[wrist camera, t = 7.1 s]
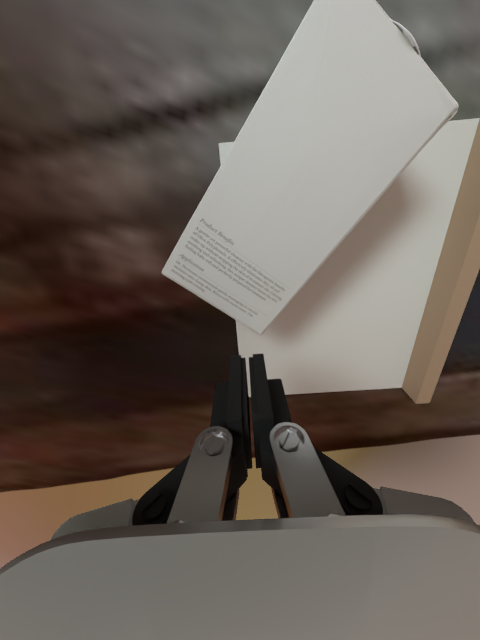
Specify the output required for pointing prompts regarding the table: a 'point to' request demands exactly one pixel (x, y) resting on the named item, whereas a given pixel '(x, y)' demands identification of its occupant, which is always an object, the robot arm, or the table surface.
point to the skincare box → (310, 160)
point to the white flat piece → (386, 283)
